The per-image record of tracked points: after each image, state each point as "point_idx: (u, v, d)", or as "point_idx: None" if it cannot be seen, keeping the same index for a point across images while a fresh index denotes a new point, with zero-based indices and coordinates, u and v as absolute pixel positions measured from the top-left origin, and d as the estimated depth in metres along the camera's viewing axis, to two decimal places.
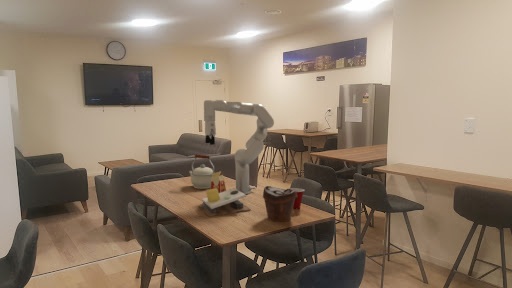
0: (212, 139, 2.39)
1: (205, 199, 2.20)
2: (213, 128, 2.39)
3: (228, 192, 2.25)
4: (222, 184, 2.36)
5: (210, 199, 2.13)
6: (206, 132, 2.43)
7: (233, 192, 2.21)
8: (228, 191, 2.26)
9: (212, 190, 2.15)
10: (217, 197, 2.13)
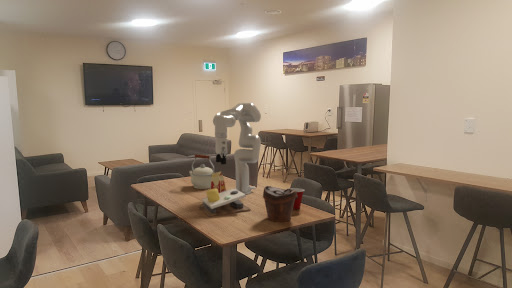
0: (223, 158, 2.17)
1: (205, 199, 2.20)
2: (225, 146, 2.18)
3: (228, 192, 2.25)
4: (222, 184, 2.36)
5: (210, 199, 2.13)
6: (217, 150, 2.22)
7: (233, 192, 2.21)
8: (228, 191, 2.26)
9: (212, 190, 2.15)
10: (217, 197, 2.13)
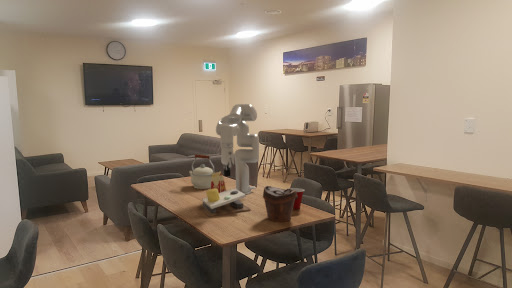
0: (228, 170, 2.13)
1: (205, 199, 2.20)
2: (231, 157, 2.09)
3: (228, 192, 2.25)
4: (222, 184, 2.36)
5: (210, 199, 2.13)
6: (223, 161, 2.13)
7: (233, 192, 2.21)
8: (228, 191, 2.26)
9: (212, 190, 2.15)
10: (217, 197, 2.13)
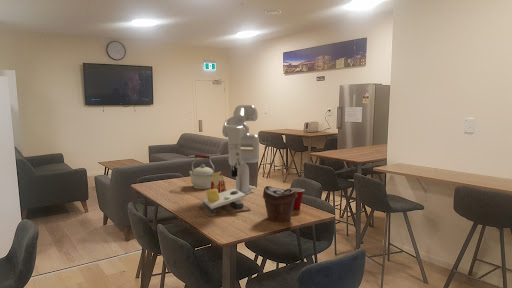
0: (235, 171, 2.18)
1: (205, 199, 2.20)
2: (239, 158, 2.15)
3: (228, 192, 2.25)
4: (222, 184, 2.36)
5: (210, 199, 2.13)
6: (230, 162, 2.18)
7: (233, 192, 2.21)
8: (228, 191, 2.26)
9: (212, 190, 2.15)
10: (217, 197, 2.13)
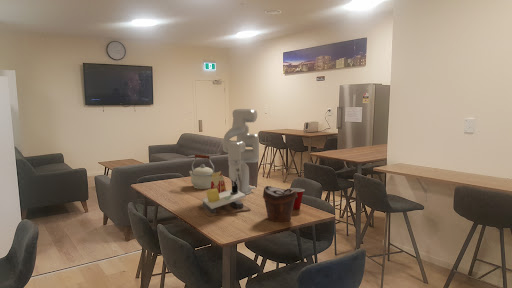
0: (235, 186, 2.19)
1: (205, 199, 2.20)
2: (239, 173, 2.16)
3: (228, 192, 2.25)
4: (222, 184, 2.36)
5: (210, 199, 2.13)
6: (231, 177, 2.20)
7: (233, 192, 2.21)
8: (228, 191, 2.26)
9: (212, 190, 2.15)
10: (217, 197, 2.13)
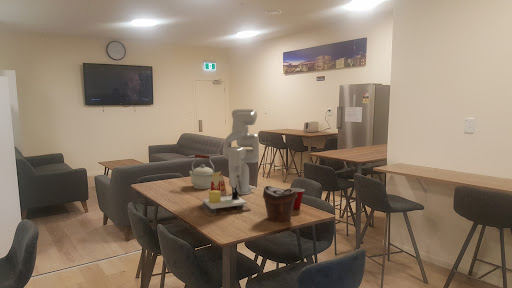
0: (235, 193, 2.20)
1: (206, 199, 2.20)
2: (239, 180, 2.16)
3: (229, 197, 2.25)
4: (222, 184, 2.36)
5: (211, 200, 2.13)
6: (231, 184, 2.20)
7: None
8: (229, 196, 2.27)
9: (215, 191, 2.16)
10: (218, 199, 2.14)
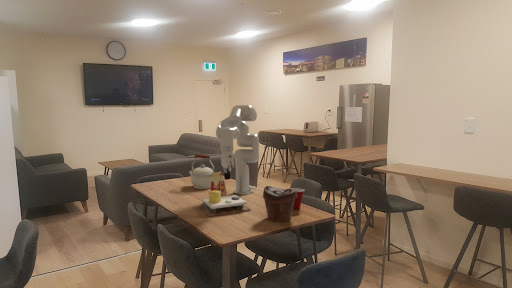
0: (227, 173, 2.13)
1: (206, 199, 2.20)
2: (231, 160, 2.10)
3: (229, 197, 2.25)
4: (222, 184, 2.36)
5: (211, 200, 2.13)
6: (223, 164, 2.13)
7: (234, 198, 2.22)
8: (229, 196, 2.27)
9: (215, 191, 2.16)
10: (218, 199, 2.14)
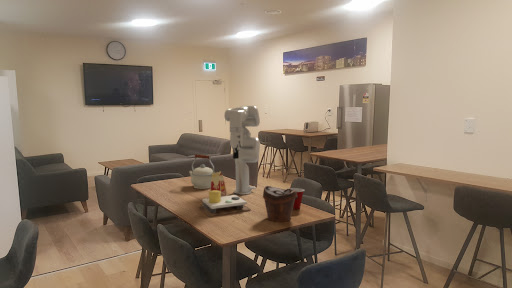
0: (236, 153, 2.28)
1: (206, 199, 2.20)
2: (240, 140, 2.25)
3: (229, 197, 2.25)
4: (222, 184, 2.36)
5: (211, 200, 2.13)
6: (232, 144, 2.29)
7: (234, 198, 2.22)
8: (229, 196, 2.27)
9: (215, 191, 2.16)
10: (218, 199, 2.14)
